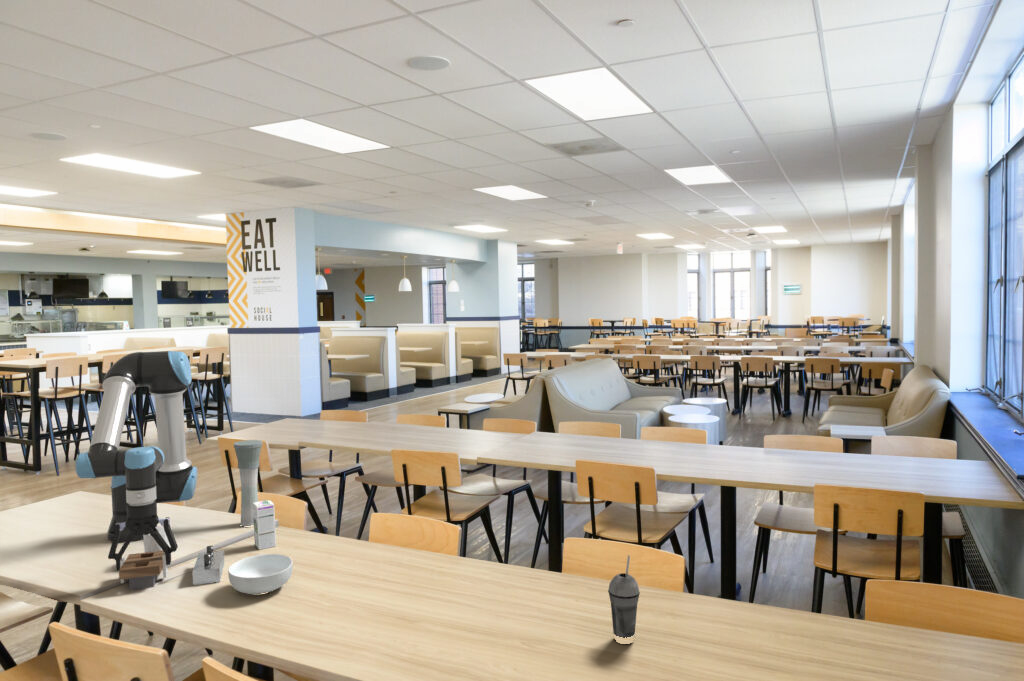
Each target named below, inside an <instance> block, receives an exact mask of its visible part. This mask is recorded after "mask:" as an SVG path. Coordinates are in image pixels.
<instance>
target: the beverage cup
mask: <svg viewBox="0 0 1024 681" xmlns="http://www.w3.org/2000/svg"><path fill="white" fill-rule="evenodd" d="M630 558H631V556H630V555H629V554H628V555H627V560H626V567H625V568H626V569H625V573H624V572H623V573H622V572H621V573H618V574H616V575H615V576H613V577H612V578H611V580H610V582H609V586H608V589H607V590H608V596H609V600H610V608H611V618H612V631H613V635H614V634H615V635H616V636H619V637H623V638H625V637H626V638H627V637H631V636H633V635H634V634H635V635H636V624H637V611H638V602H639V598H640V594H641V593H640V588H639V584H638V582H637V580H636V578H634V577H633V575H631V574H629V568H630ZM635 635H634V636H635Z"/></svg>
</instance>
